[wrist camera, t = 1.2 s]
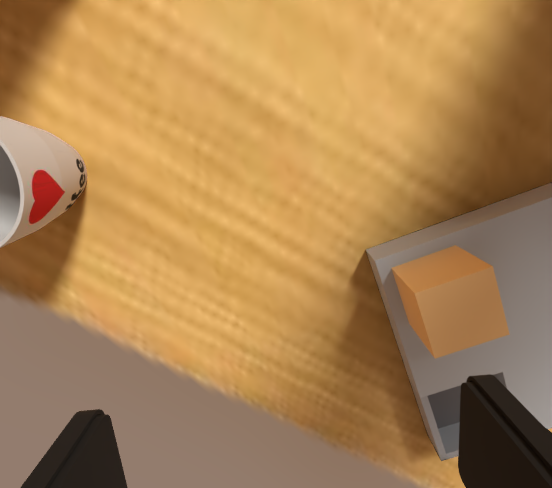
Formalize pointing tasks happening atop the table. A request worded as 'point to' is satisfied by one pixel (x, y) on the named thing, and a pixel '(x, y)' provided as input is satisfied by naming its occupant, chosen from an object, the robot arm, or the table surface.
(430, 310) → the block
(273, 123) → the table surface
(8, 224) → the cup
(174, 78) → the table surface
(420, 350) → the grey sorting tray
